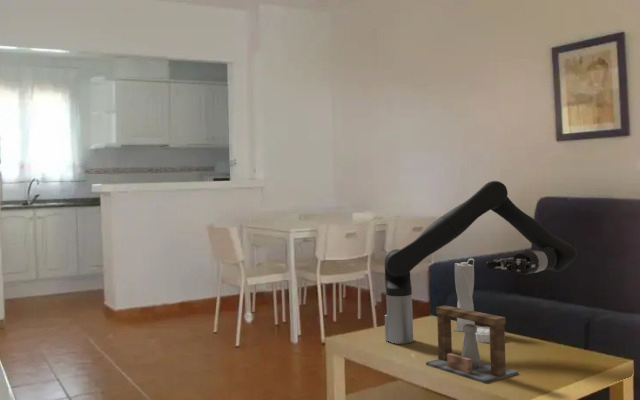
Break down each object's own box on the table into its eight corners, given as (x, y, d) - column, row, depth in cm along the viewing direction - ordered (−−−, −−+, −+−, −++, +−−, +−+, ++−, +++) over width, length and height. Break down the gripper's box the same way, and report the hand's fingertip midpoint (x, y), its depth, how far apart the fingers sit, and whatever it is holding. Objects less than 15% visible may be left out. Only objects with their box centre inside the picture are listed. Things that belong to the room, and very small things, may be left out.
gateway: (426, 364, 215) (424, 309, 214) (457, 356, 222) (456, 303, 222) (485, 383, 194) (484, 322, 193) (518, 373, 202) (516, 314, 201)
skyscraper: (480, 329, 260) (478, 257, 258) (473, 334, 253) (471, 260, 251) (459, 327, 264) (456, 256, 263) (452, 332, 257) (449, 259, 256)
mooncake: (466, 341, 243) (465, 331, 243) (477, 334, 253) (477, 324, 253) (498, 344, 236) (498, 334, 236) (509, 337, 246) (509, 327, 246)
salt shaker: (480, 369, 205) (479, 327, 204) (461, 369, 206) (460, 326, 205) (480, 364, 210) (479, 322, 210) (461, 363, 212) (460, 322, 211)
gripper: (513, 249, 231) (480, 253, 222) (548, 252, 219) (514, 257, 210) (513, 270, 231) (480, 276, 222) (548, 275, 219) (515, 281, 210)
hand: (497, 267), depth 216 cm, fingers open, 8 cm apart
